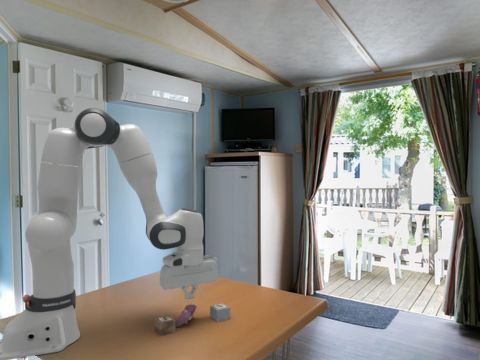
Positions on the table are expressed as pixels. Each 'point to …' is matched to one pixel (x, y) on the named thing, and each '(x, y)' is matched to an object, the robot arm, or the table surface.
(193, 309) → the video game controller
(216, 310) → the slate grey block
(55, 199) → the robot arm
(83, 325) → the table surface
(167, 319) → the walnut block
